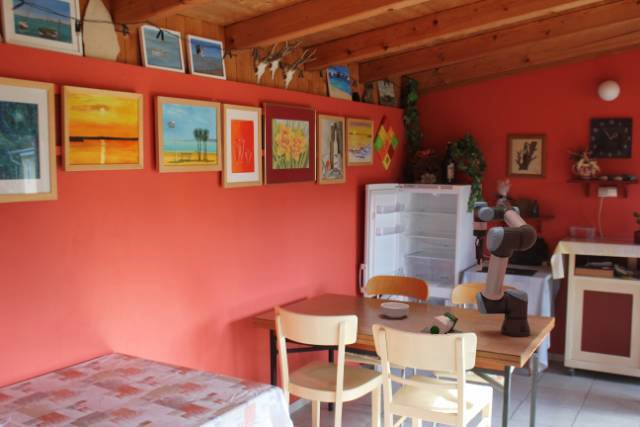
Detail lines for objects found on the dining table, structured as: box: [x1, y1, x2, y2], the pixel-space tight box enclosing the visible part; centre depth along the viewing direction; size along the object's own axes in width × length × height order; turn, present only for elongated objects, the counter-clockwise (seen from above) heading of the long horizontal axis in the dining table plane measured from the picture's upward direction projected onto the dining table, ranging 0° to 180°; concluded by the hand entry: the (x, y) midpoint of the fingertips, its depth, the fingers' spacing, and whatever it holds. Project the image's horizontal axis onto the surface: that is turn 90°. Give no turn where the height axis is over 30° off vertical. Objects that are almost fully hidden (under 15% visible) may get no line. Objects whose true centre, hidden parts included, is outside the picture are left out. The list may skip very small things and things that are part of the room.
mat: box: [420, 326, 463, 334], centre depth 341 cm, size 20×10×1 cm, turn 63°
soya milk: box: [428, 311, 459, 335], centre depth 337 cm, size 9×9×20 cm
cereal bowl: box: [380, 301, 410, 319], centre depth 373 cm, size 17×17×7 cm
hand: (479, 270), depth 362 cm, fingers closed
